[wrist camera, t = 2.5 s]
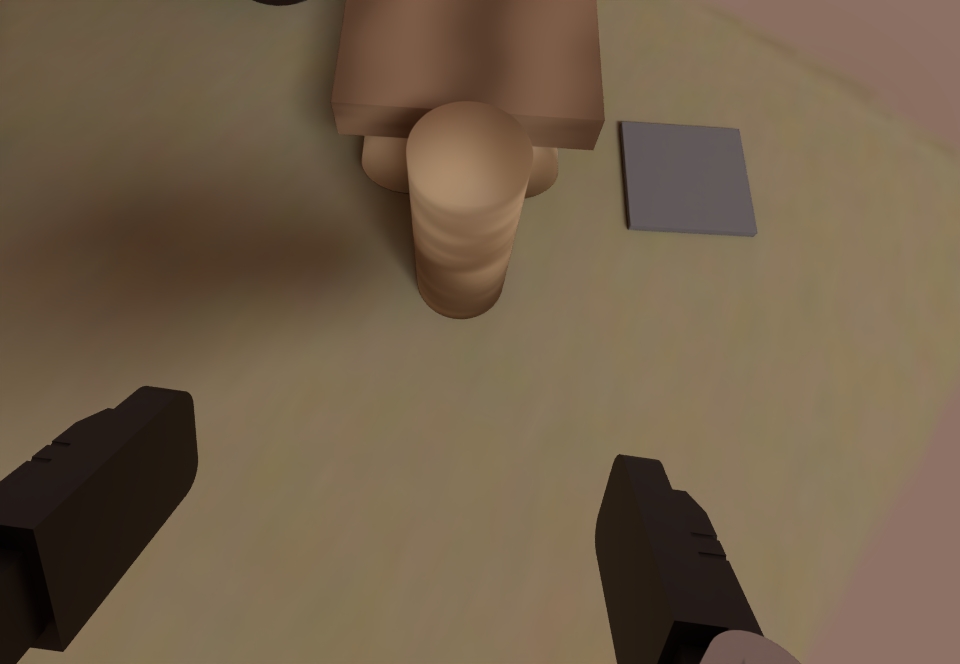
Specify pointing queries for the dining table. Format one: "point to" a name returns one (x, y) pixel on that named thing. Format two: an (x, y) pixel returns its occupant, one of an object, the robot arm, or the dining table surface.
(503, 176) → the roller
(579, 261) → the dining table surface
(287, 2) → the coffee mug
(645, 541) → the robot arm
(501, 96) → the slab
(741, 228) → the mat
